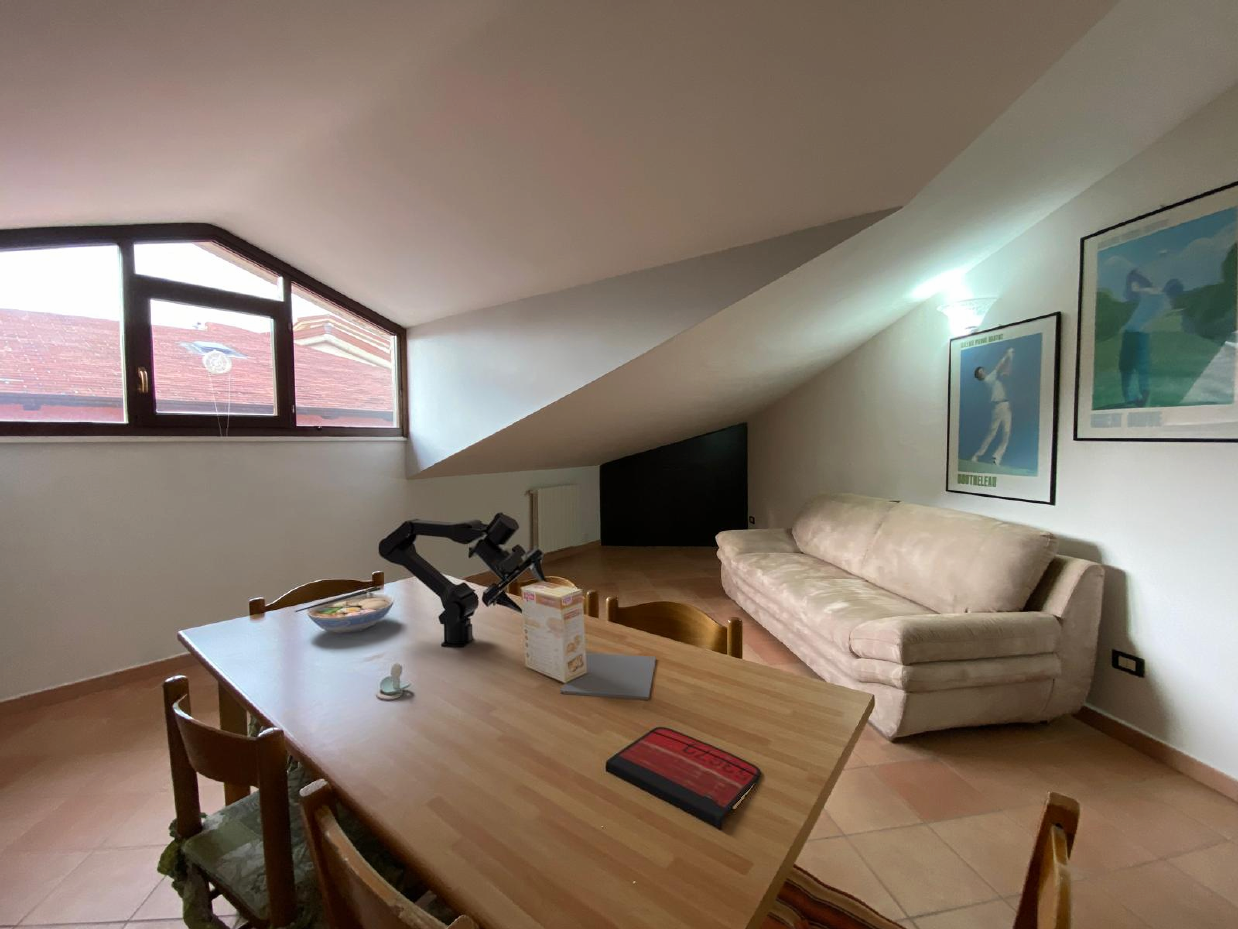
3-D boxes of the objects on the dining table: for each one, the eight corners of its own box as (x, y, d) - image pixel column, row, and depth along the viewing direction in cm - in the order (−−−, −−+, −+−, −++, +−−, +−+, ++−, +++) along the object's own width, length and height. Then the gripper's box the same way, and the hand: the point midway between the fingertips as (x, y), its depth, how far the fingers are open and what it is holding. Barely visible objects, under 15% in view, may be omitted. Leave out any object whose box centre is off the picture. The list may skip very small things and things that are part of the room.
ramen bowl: (330, 652, 130) (329, 621, 130) (286, 635, 142) (285, 606, 142) (415, 623, 151) (414, 596, 151) (370, 610, 163) (369, 585, 163)
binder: (721, 818, 70) (604, 760, 83) (720, 834, 70) (604, 774, 83) (765, 764, 83) (658, 721, 95) (765, 778, 83) (658, 733, 95)
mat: (560, 693, 108) (560, 690, 108) (581, 654, 128) (581, 652, 128) (648, 699, 106) (648, 697, 106) (655, 659, 125) (655, 657, 125)
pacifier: (389, 705, 104) (415, 692, 109) (388, 676, 104) (413, 664, 109) (369, 696, 108) (394, 683, 113) (367, 667, 108) (393, 656, 113)
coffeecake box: (588, 672, 116) (583, 589, 116) (564, 684, 111) (559, 597, 111) (547, 656, 127) (542, 579, 126) (524, 666, 121) (519, 586, 121)
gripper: (467, 568, 120) (512, 615, 117) (525, 522, 131) (567, 565, 128) (465, 584, 129) (506, 629, 126) (519, 540, 140) (559, 580, 137)
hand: (535, 600), depth 129 cm, fingers open, 9 cm apart
